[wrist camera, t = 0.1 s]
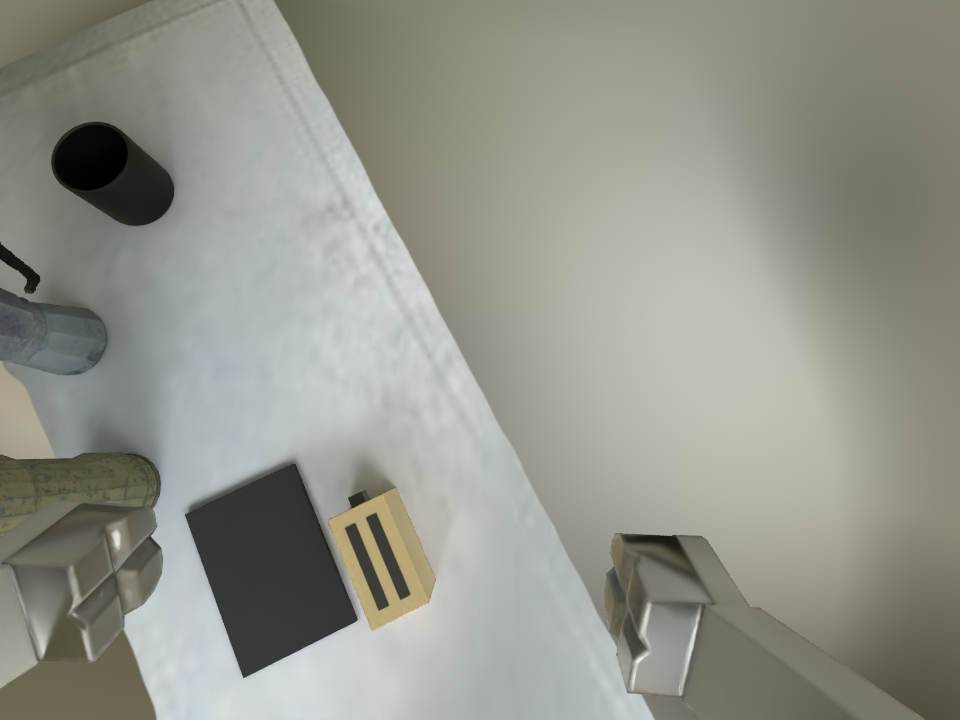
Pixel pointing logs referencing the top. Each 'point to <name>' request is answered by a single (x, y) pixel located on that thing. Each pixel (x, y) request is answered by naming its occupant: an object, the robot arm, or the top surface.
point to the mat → (270, 569)
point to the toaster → (383, 557)
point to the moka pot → (46, 329)
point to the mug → (112, 173)
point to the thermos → (74, 483)
